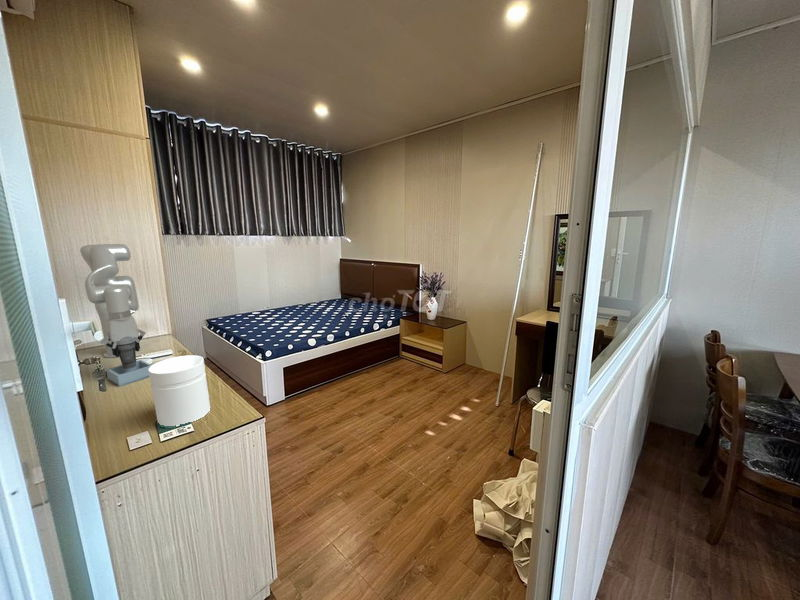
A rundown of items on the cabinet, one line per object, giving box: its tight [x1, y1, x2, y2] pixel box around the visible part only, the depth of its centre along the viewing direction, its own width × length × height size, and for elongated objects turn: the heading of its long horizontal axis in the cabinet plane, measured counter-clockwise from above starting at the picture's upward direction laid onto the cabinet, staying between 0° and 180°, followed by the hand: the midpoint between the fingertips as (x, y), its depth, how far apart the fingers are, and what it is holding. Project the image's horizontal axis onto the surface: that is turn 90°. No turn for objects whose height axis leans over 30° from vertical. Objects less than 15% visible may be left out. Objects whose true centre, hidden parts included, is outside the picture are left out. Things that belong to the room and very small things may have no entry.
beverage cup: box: [116, 337, 137, 369], centre depth 143 cm, size 7×7×20 cm
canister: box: [148, 354, 211, 426], centre depth 113 cm, size 16×16×20 cm
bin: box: [105, 359, 153, 388], centre depth 145 cm, size 13×13×5 cm
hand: (127, 353), depth 143 cm, fingers closed on beverage cup, 6 cm apart
